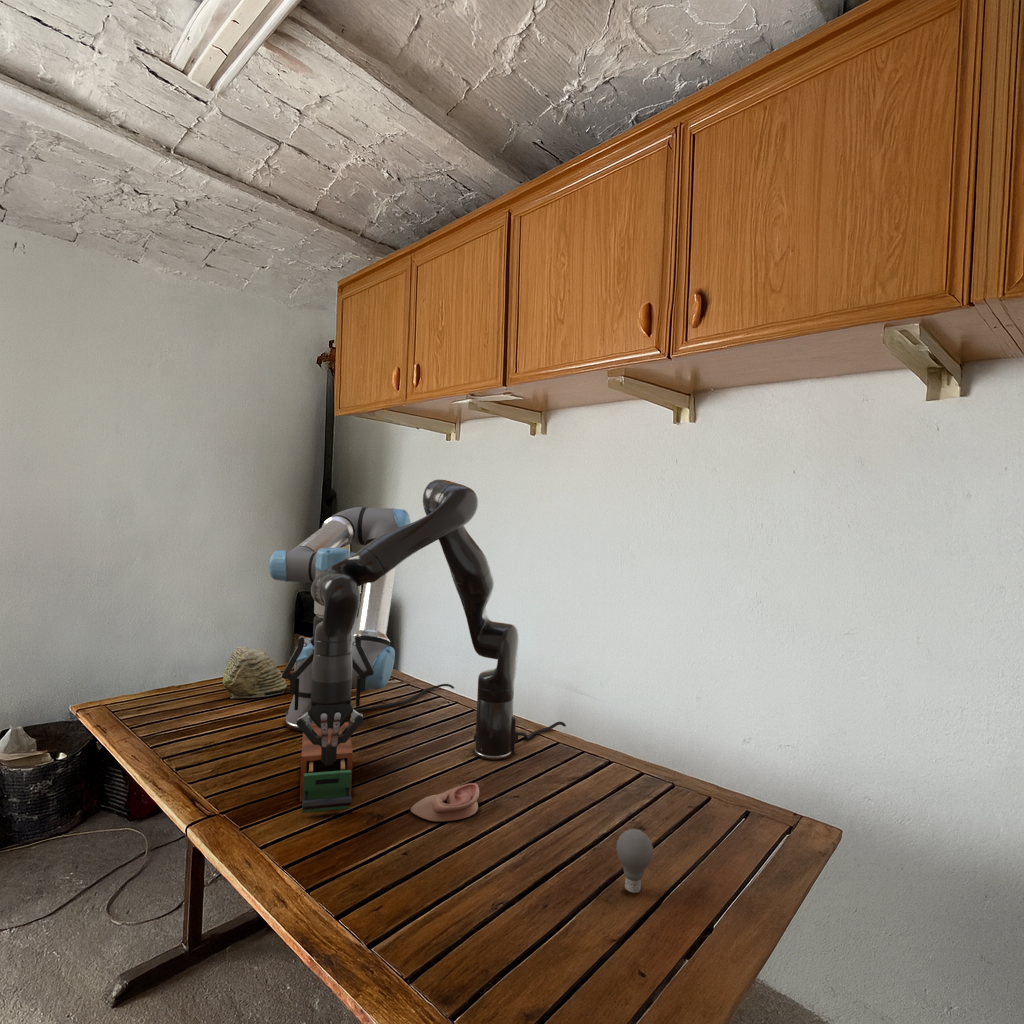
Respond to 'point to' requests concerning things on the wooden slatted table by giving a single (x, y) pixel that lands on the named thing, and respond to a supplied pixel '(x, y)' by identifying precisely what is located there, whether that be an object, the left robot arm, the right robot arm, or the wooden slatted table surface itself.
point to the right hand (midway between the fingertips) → (328, 764)
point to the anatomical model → (449, 804)
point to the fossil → (252, 674)
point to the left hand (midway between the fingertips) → (327, 706)
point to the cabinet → (314, 753)
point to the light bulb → (634, 857)
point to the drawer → (326, 787)
